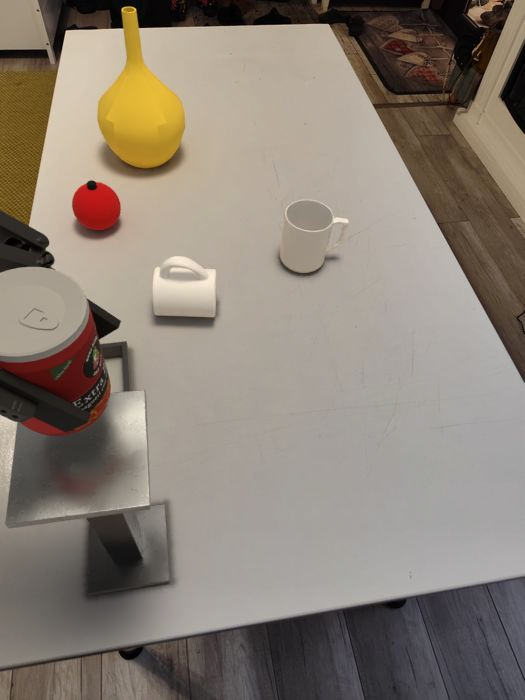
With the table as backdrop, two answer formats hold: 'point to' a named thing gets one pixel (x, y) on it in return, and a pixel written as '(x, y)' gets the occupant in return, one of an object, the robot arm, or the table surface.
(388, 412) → the table surface
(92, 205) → the ornament
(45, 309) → the canned food
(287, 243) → the mug
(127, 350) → the grey square frame
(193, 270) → the mug
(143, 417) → the steel stand
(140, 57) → the vase
